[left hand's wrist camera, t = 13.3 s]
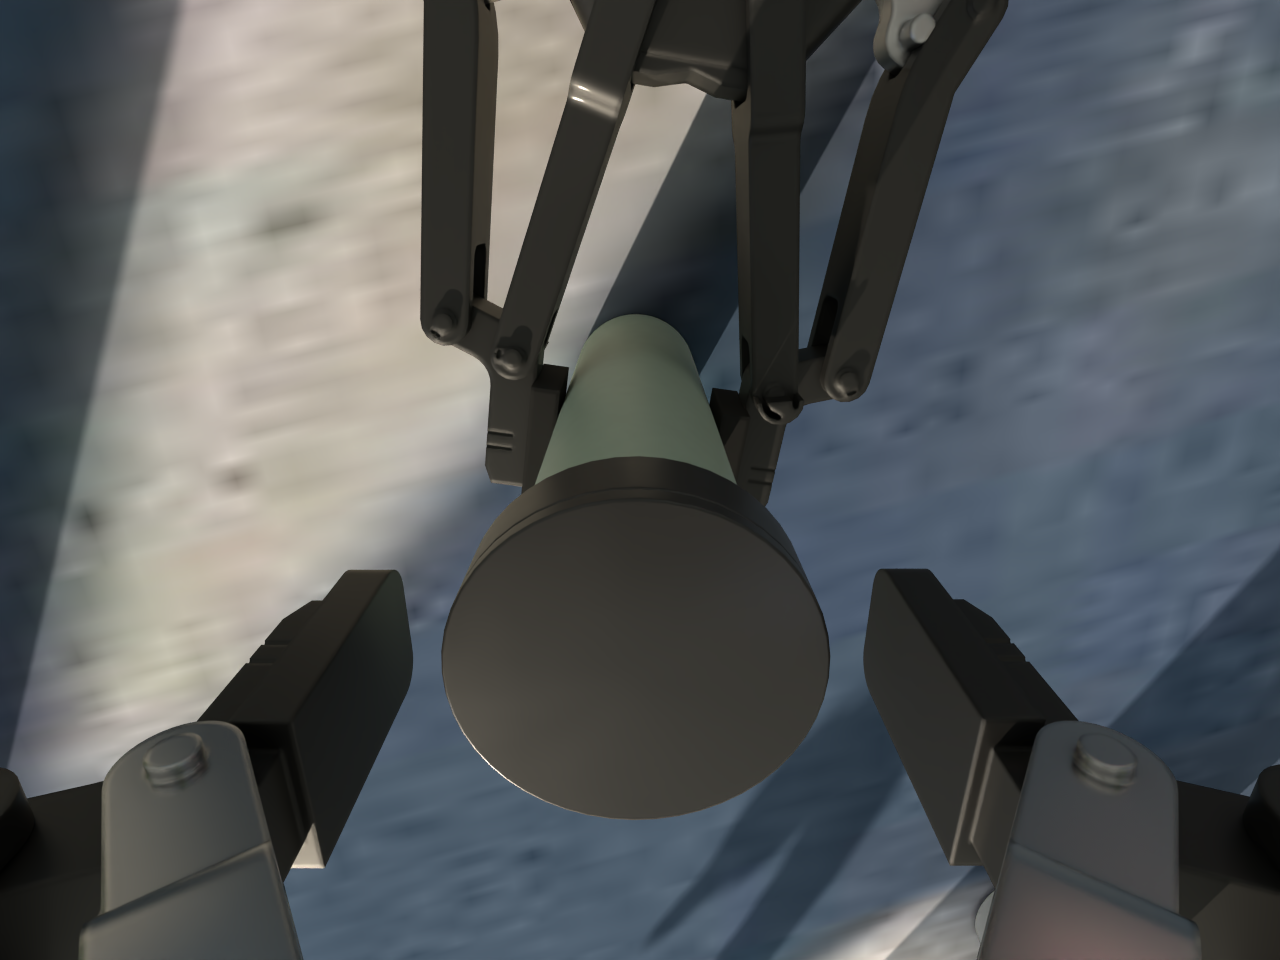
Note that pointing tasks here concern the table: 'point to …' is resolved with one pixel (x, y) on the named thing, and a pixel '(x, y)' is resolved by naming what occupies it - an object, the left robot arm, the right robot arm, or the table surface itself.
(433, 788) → the table surface
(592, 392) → the pale green cylinder
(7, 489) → the table surface
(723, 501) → the lid
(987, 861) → the left robot arm
